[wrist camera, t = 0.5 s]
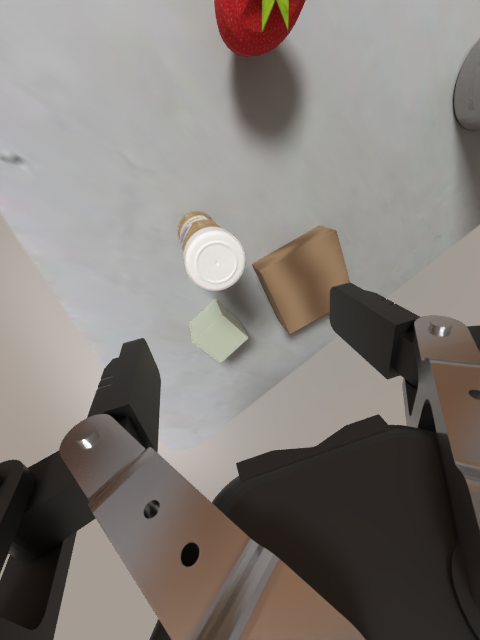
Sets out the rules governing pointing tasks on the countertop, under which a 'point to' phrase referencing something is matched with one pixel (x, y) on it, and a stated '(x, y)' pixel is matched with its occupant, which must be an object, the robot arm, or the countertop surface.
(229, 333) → the sage cube
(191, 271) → the sprinkles bottle
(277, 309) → the walnut block
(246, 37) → the strawberry
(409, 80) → the countertop surface
